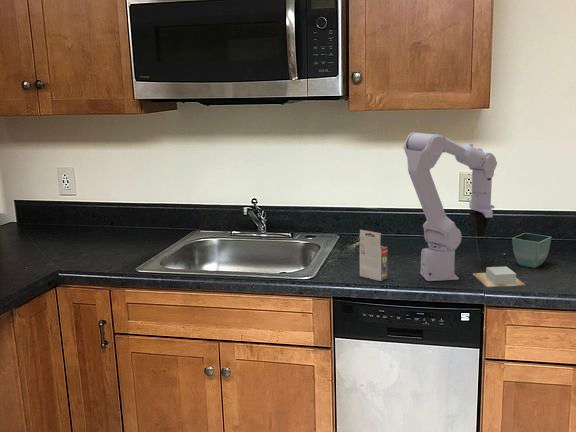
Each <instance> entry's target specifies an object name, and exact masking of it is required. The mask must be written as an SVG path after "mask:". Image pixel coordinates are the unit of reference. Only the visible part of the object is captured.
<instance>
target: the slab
mask: <svg viewBox="0 0 576 432" xmlns="http://www.w3.org/2000/svg"><path fill="white" fill-rule="evenodd" d="M485 273H486V278H487V279H489V280H490V281H491V282H492V283H493V284H494V285H503V284H516V278H517V273H516V272H514V271H513V270H512V269H510V268H509V267H508V266H506V265H505V266H487V267H486V268H485Z"/></svg>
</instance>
